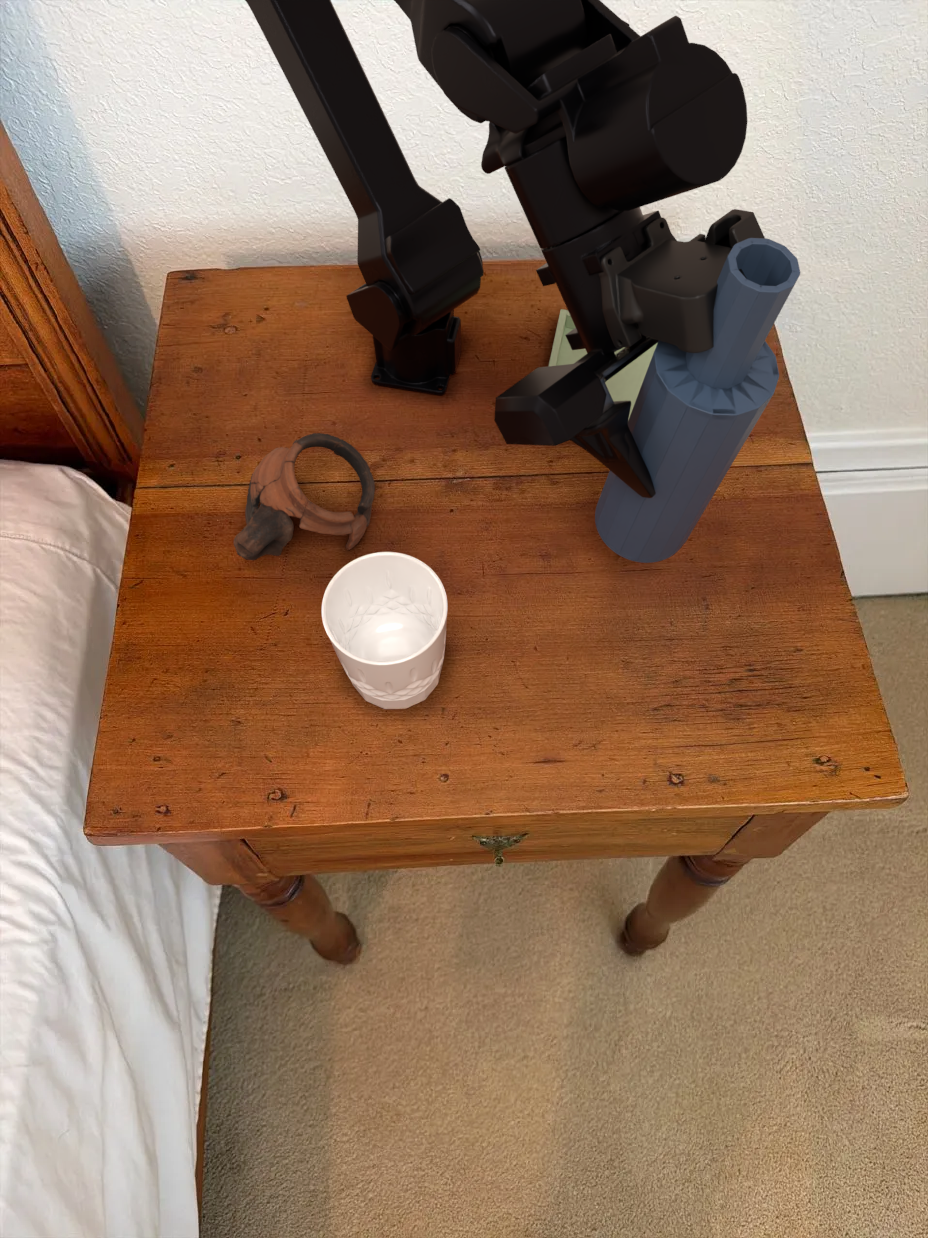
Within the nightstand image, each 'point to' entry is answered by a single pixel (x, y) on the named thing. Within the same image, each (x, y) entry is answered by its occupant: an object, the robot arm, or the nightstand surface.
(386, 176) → the robot arm
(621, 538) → the carafe
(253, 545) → the brown grey sculpted ring
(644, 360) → the tray
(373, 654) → the white cup
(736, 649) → the nightstand surface
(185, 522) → the nightstand surface
